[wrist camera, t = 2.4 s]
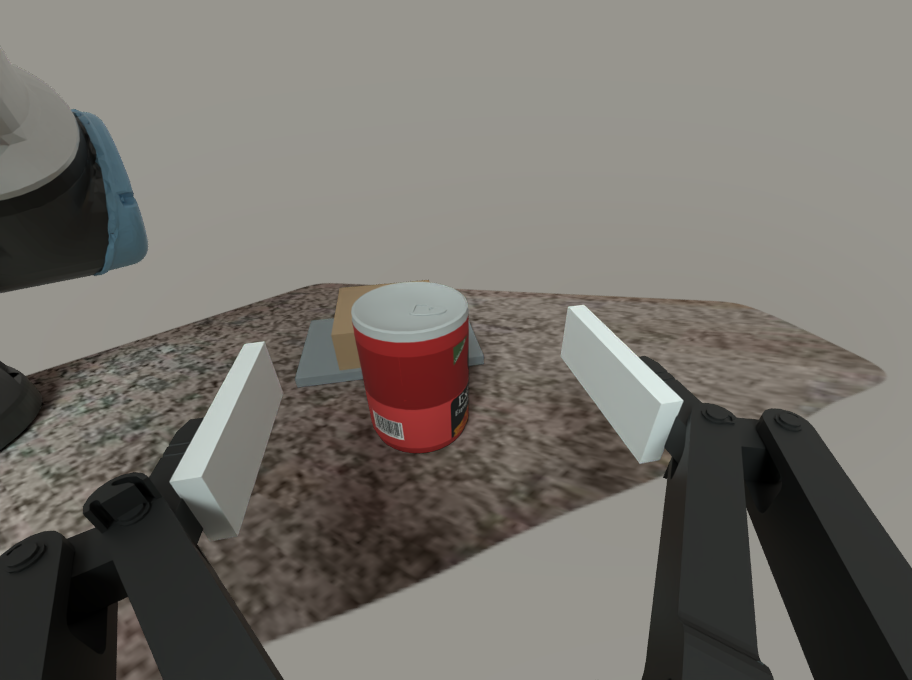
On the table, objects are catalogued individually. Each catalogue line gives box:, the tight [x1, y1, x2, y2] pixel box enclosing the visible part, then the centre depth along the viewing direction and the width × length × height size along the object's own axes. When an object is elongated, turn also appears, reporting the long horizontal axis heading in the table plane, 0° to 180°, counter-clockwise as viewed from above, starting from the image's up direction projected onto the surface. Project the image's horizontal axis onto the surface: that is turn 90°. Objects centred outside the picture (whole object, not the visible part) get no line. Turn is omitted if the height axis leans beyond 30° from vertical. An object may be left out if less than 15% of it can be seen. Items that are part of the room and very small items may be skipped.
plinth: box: [295, 280, 484, 387], centre depth 40 cm, size 18×11×5 cm, turn 100°
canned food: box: [351, 282, 469, 453], centre depth 28 cm, size 8×8×11 cm
